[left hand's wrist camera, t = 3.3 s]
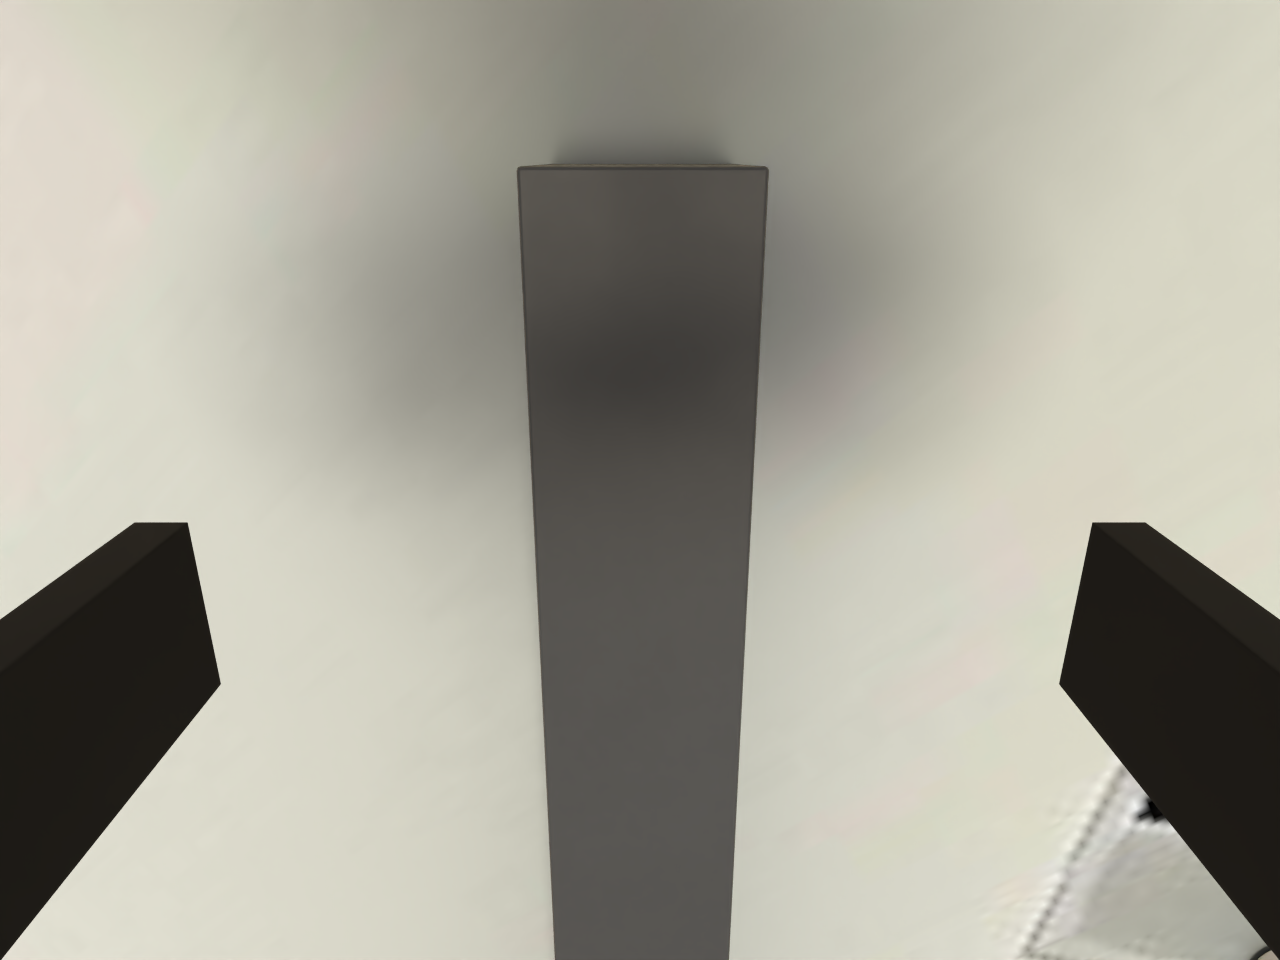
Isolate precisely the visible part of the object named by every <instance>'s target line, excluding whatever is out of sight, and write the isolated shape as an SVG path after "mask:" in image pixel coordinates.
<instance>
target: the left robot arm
mask: <svg viewBox="0 0 1280 960" xmlns="http://www.w3.org/2000/svg"><path fill="white" fill-rule="evenodd" d="M220 684H221V683H220V678H219V673H218V668H217V663H216V658H215V653H214V649H213V644H212V639H211V634H210V629H209V624H208V620H207V615H206V610H205V605H204V600H203V595H202V590H201V586H200V581H199V576H198V571H197V566H196V561H195V556H194V552H193V547H192V542H191V537H190V532H189V527H188V523H133V524H132V525H131V526H129V527H128V528H126V529H125V530H124V531H122V532H121V533H120V534H118V535H117V536H115V537H114V538H113V539H111V540H110V541H108V542H107V543H106V544H104V545H103V546H102V547H100V548H99V549H97V550H96V551H95V552H93V553H92V554H90V555H89V556H88V557H86V558H85V559H83V560H82V561H81V562H79V563H78V564H77V565H75V566H74V567H72V568H71V569H70V570H68V571H67V572H65V573H64V574H63V575H61V576H60V577H59V578H57V579H56V580H54V581H53V582H52V583H50V584H49V585H47V586H46V587H45V588H43V589H42V590H41V591H39V592H38V593H36V594H35V595H34V596H32V597H31V598H29V599H28V600H27V601H25V602H24V603H22V604H21V605H20V606H18V607H17V608H16V609H14V610H13V611H11V612H10V613H9V614H7V615H6V616H4V617H3V618H2V619H0V960H1V959H2V958H3V957H4V956H5V954H6V953H7V952H8V950H9V949H10V948H11V947H12V945H13V944H14V943H15V942H16V940H17V939H18V938H19V937H20V935H21V934H22V933H23V932H24V930H25V929H26V928H27V927H28V925H29V924H30V923H31V922H32V920H33V919H34V918H35V917H36V915H37V914H38V913H39V912H40V910H41V909H42V908H43V907H44V905H45V904H46V903H47V902H48V900H49V899H50V898H51V897H52V895H53V894H54V893H55V892H56V890H57V889H58V888H59V886H60V885H61V884H62V883H63V881H64V880H65V879H66V878H67V876H68V875H69V874H70V873H71V871H72V870H73V869H74V868H75V866H76V865H77V864H78V863H79V861H80V860H81V859H82V858H83V856H84V855H85V854H86V853H87V851H88V850H89V849H90V848H91V846H92V845H93V844H94V843H95V841H96V840H97V839H98V838H99V836H100V835H101V834H102V833H103V831H104V830H105V829H106V828H107V826H108V825H109V824H110V823H111V821H112V820H113V819H114V817H115V816H116V815H117V814H118V812H119V811H120V810H121V809H122V807H123V806H124V805H125V804H126V802H127V801H128V800H129V799H130V797H131V796H132V795H133V794H134V792H135V791H136V790H137V789H138V787H139V786H140V785H141V784H142V782H143V781H144V780H145V779H146V777H147V776H148V775H149V774H150V772H151V771H152V770H153V769H154V767H155V766H156V765H157V764H158V762H159V761H160V760H161V759H162V757H163V756H164V755H165V753H166V752H167V751H168V750H169V748H170V747H171V746H172V745H173V743H174V742H175V741H176V740H177V738H178V737H179V736H180V735H181V733H182V732H183V731H184V730H185V728H186V727H187V726H188V725H189V723H190V722H191V721H192V720H193V718H194V717H195V716H196V715H197V713H198V712H199V711H200V710H201V708H202V707H203V706H204V705H205V703H206V702H207V701H208V700H209V698H210V697H211V696H212V695H213V693H214V692H215V691H216V689H217V688H218V687H219V686H220ZM1059 684H1060V686H1061V687H1062V688H1063V690H1064V691H1065V692H1066V693H1067V695H1068V696H1069V697H1070V698H1071V700H1072V701H1073V702H1074V703H1075V705H1076V706H1077V707H1078V708H1079V710H1080V711H1081V712H1082V713H1083V715H1084V716H1085V717H1086V718H1087V720H1088V721H1089V722H1090V723H1091V725H1092V726H1093V727H1094V728H1095V730H1096V731H1097V732H1098V733H1099V735H1100V736H1101V737H1102V738H1103V740H1104V741H1105V742H1106V743H1107V745H1108V746H1109V747H1110V748H1111V750H1112V751H1113V752H1114V753H1115V755H1116V756H1117V757H1118V759H1119V760H1120V761H1121V762H1122V764H1123V765H1124V766H1125V767H1126V769H1127V770H1128V771H1129V772H1130V774H1131V775H1132V776H1133V777H1134V779H1135V780H1136V781H1137V782H1138V784H1139V785H1140V786H1141V787H1142V789H1143V790H1144V791H1145V792H1146V794H1147V795H1148V796H1149V797H1150V799H1151V800H1152V801H1153V802H1154V804H1155V805H1156V806H1157V807H1158V809H1159V810H1160V811H1161V812H1162V814H1163V815H1164V816H1165V817H1166V819H1167V820H1168V821H1169V823H1170V824H1171V825H1172V826H1173V828H1174V829H1175V830H1176V831H1177V833H1178V834H1179V835H1180V836H1181V838H1182V839H1183V840H1184V841H1185V843H1186V844H1187V845H1188V846H1189V848H1190V849H1191V850H1192V851H1193V853H1194V854H1195V855H1196V856H1197V858H1198V859H1199V860H1200V861H1201V863H1202V864H1203V865H1204V866H1205V868H1206V869H1207V870H1208V871H1209V873H1210V874H1211V875H1212V876H1213V878H1214V879H1215V880H1216V881H1217V883H1218V884H1219V885H1220V887H1221V888H1222V889H1223V890H1224V892H1225V893H1226V894H1227V895H1228V897H1229V898H1230V899H1231V900H1232V902H1233V903H1234V904H1235V905H1236V907H1237V908H1238V909H1239V910H1240V912H1241V913H1242V914H1243V915H1244V917H1245V918H1246V919H1247V920H1248V922H1249V923H1250V924H1251V925H1252V927H1253V928H1254V929H1255V930H1256V932H1257V933H1258V934H1259V935H1260V937H1261V938H1262V939H1263V940H1264V942H1265V943H1266V944H1267V945H1268V947H1269V948H1270V949H1271V950H1272V952H1273V953H1274V954H1275V956H1276V957H1277V958H1278V959H1279V960H1280V619H1278V618H1277V617H1276V616H1274V615H1273V614H1271V613H1270V612H1269V611H1267V610H1266V609H1264V608H1263V607H1262V606H1260V605H1259V604H1258V603H1256V602H1255V601H1253V600H1252V599H1251V598H1249V597H1248V596H1246V595H1245V594H1244V593H1242V592H1241V591H1239V590H1238V589H1237V588H1235V587H1234V586H1233V585H1231V584H1230V583H1228V582H1227V581H1226V580H1224V579H1223V578H1221V577H1220V576H1219V575H1217V574H1216V573H1215V572H1213V571H1212V570H1210V569H1209V568H1208V567H1206V566H1205V565H1203V564H1202V563H1201V562H1199V561H1198V560H1197V559H1195V558H1194V557H1192V556H1191V555H1190V554H1188V553H1187V552H1185V551H1184V550H1183V549H1181V548H1180V547H1178V546H1177V545H1176V544H1174V543H1173V542H1172V541H1170V540H1169V539H1167V538H1166V537H1165V536H1163V535H1162V534H1160V533H1159V532H1158V531H1156V530H1155V529H1154V528H1152V527H1151V526H1149V525H1148V524H1147V523H1092V527H1091V532H1090V537H1089V542H1088V547H1087V552H1086V556H1085V561H1084V566H1083V571H1082V576H1081V581H1080V586H1079V590H1078V595H1077V600H1076V605H1075V610H1074V615H1073V620H1072V624H1071V629H1070V634H1069V639H1068V644H1067V649H1066V653H1065V658H1064V663H1063V668H1062V673H1061V678H1060V683H1059Z"/></svg>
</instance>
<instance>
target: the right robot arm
mask: <svg viewBox="0 0 1280 960" xmlns="http://www.w3.org/2000/svg"><path fill="white" fill-rule="evenodd" d="M1258 960H1279V959H1278V958H1277V957H1276V956H1275V954H1274V953H1273V952H1272V950H1271V951H1269V952H1267V953H1265V954H1264V955H1262V956H1261V957H1260V958H1259V959H1258Z"/></svg>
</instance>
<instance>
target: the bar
mask: <svg viewBox="0 0 1280 960" xmlns="http://www.w3.org/2000/svg"><path fill="white" fill-rule="evenodd" d="M768 176H769V170H768V168H767V167H765V166H751V165H737V164H548V165H534V166H521V167H518V169H517V185H518V206H519V226H520V247H521V268H522V288H523V309H524V330H525V350H526V371H527V392H528V412H529V433H530V454H531V474H532V495H533V516H534V536H535V557H536V577H537V598H538V619H539V639H540V660H541V681H542V701H543V722H544V743H545V763H546V784H547V805H548V825H549V846H550V866H551V887H552V908H553V928H554V949H555V960H729V947H730V927H731V907H732V888H733V868H734V848H735V828H736V809H737V789H738V769H739V749H740V730H741V710H742V690H743V670H744V651H745V631H746V611H747V591H748V571H749V552H750V532H751V512H752V492H753V473H754V453H755V433H756V413H757V394H758V374H759V354H760V334H761V315H762V295H763V275H764V255H765V236H766V216H767V196H768Z"/></svg>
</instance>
